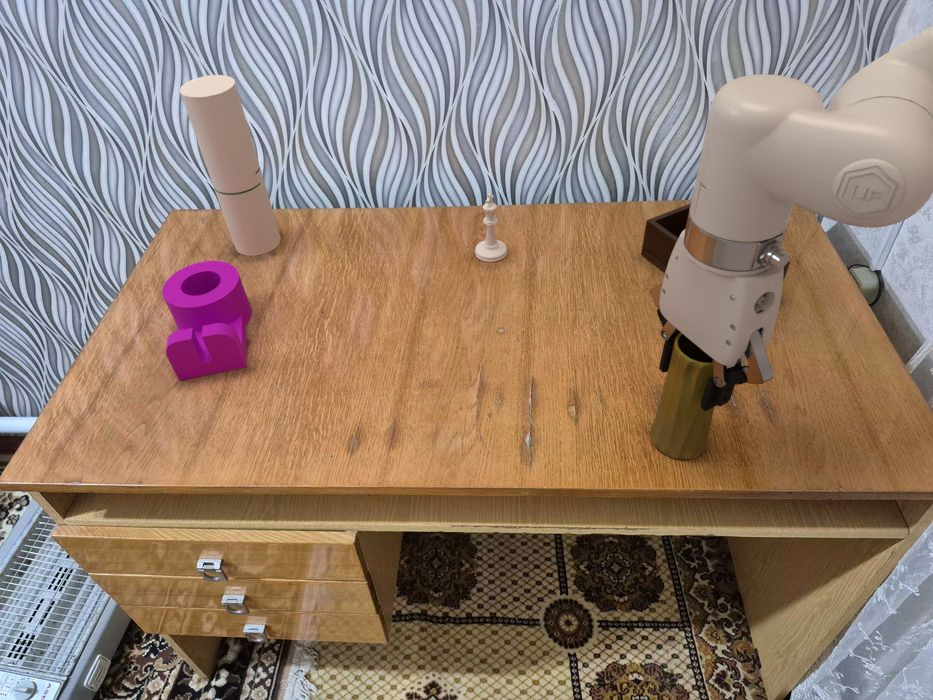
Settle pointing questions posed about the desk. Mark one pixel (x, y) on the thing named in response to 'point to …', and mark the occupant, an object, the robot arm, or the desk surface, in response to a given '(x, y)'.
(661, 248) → the brown compartment box
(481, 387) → the desk surface
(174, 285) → the magenta bearing bracket
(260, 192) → the cylindrical container
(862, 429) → the desk surface
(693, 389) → the vase
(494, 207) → the chess piece
